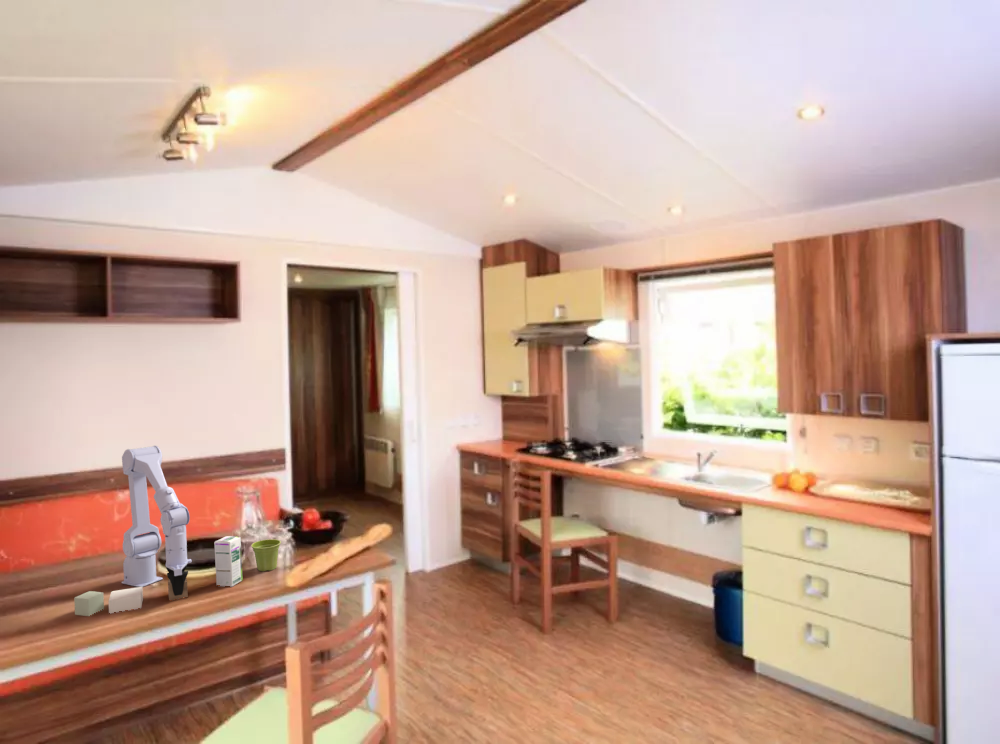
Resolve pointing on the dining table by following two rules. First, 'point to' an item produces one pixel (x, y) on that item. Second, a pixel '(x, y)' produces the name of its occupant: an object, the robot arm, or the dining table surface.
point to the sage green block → (89, 603)
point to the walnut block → (171, 593)
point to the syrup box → (228, 561)
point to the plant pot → (266, 553)
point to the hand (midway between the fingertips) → (177, 591)
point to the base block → (125, 599)
